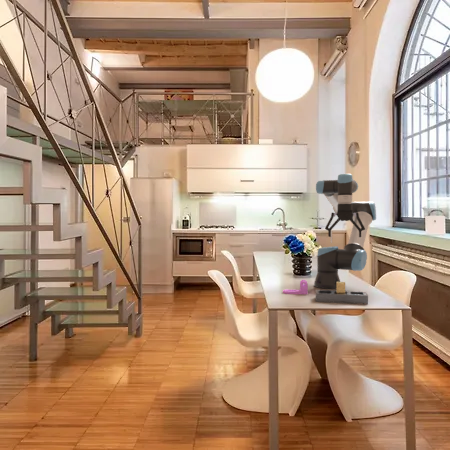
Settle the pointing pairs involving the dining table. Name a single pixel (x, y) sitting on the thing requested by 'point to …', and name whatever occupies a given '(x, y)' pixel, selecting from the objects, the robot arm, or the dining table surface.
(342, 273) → the dining table surface
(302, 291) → the bracket
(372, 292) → the dining table surface
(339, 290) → the brass block
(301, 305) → the dining table surface
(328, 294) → the dark grey tray
